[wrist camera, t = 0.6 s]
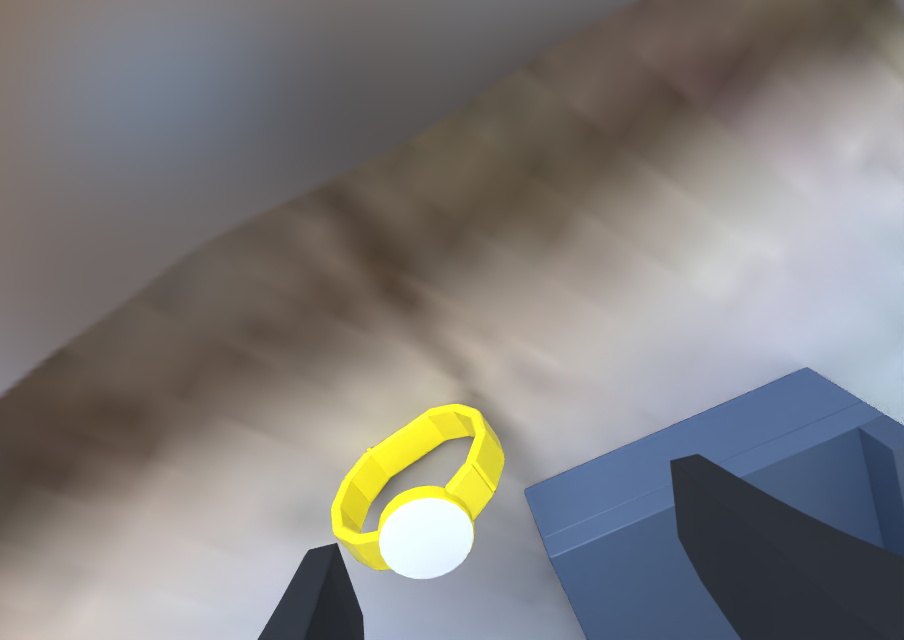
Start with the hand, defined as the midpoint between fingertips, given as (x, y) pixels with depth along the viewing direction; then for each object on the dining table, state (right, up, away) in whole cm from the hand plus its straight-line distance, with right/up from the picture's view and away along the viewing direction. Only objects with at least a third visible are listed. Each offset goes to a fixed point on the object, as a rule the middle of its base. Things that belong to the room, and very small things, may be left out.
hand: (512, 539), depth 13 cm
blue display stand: (+9, -5, +13) cm, 17 cm away
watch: (-3, 0, +10) cm, 11 cm away
